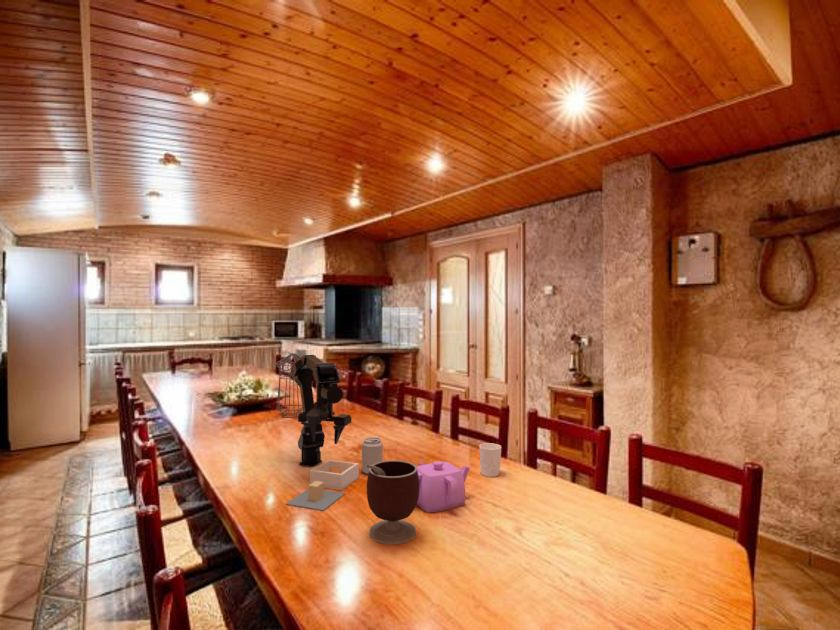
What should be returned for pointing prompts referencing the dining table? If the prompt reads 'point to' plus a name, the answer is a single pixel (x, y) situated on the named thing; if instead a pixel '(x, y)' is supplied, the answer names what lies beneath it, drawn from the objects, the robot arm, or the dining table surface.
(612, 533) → the dining table surface
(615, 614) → the dining table surface
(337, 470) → the ball
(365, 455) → the can
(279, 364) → the geometric lantern
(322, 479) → the box
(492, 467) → the white cup
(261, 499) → the dining table surface
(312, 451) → the robot arm
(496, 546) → the dining table surface
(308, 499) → the lid
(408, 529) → the mate gourd
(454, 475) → the teakettle
